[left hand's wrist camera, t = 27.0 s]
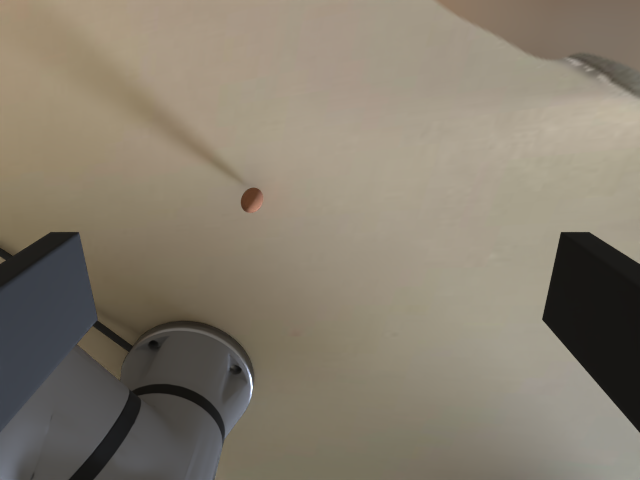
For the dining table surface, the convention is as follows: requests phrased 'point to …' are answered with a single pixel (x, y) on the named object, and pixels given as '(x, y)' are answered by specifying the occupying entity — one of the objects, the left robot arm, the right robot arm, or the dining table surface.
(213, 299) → the dining table surface
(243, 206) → the brown ellipsoid
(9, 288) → the left robot arm
